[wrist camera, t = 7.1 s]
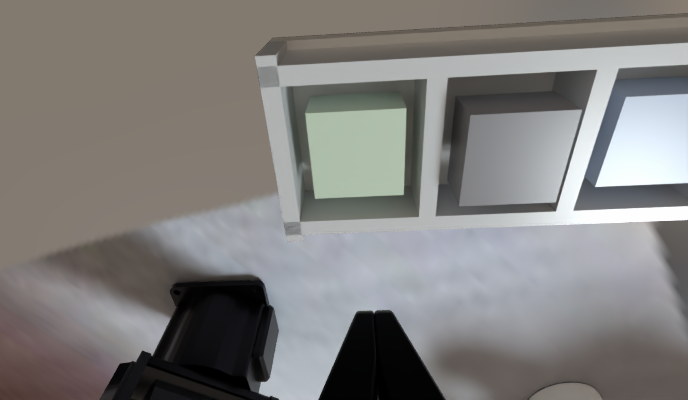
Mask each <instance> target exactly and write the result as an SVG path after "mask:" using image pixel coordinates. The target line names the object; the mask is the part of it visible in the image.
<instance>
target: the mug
mask: <svg viewBox="0 0 688 400" xmlns="http://www.w3.org/2000/svg"><path fill="white" fill-rule="evenodd" d="M529 400H602V398H601V396H600V395H599V393H598V392H597V391H596V390H595V389H594V388H593V387H591V386H589V385H586V384H582V383H561V384H556V385H552V386H549V387H546V388H544V389H542V390H540V391H538V392H537V393H535V394H534V395H533V396H532V397H531V398H530V399H529Z"/></svg>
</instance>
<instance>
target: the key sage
mask: <svg viewBox="0 0 688 400" xmlns="http://www.w3.org/2000/svg"><path fill="white" fill-rule="evenodd" d="M406 109H407V108H406V106H405V103H404V101H403V98H402V95H401V93H400V91H394V92H375V93H356V94H338V95H319V96H310V98H309V102H308V105H307V109H306V112H305V116H306V125H307V134H308V142H309V151H310V160H311V168H312V177H313V186H314V194H315V199H320V198H344V197H367V196H391V195H404V171H405V140H406Z"/></svg>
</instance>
